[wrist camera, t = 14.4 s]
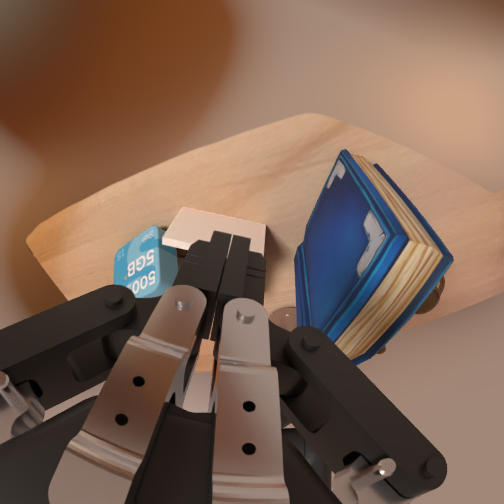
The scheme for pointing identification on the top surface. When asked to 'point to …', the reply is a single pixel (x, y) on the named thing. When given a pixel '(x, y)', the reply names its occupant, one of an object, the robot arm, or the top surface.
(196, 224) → the shelf nook
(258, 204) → the top surface
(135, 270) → the data package
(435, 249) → the book
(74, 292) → the top surface
